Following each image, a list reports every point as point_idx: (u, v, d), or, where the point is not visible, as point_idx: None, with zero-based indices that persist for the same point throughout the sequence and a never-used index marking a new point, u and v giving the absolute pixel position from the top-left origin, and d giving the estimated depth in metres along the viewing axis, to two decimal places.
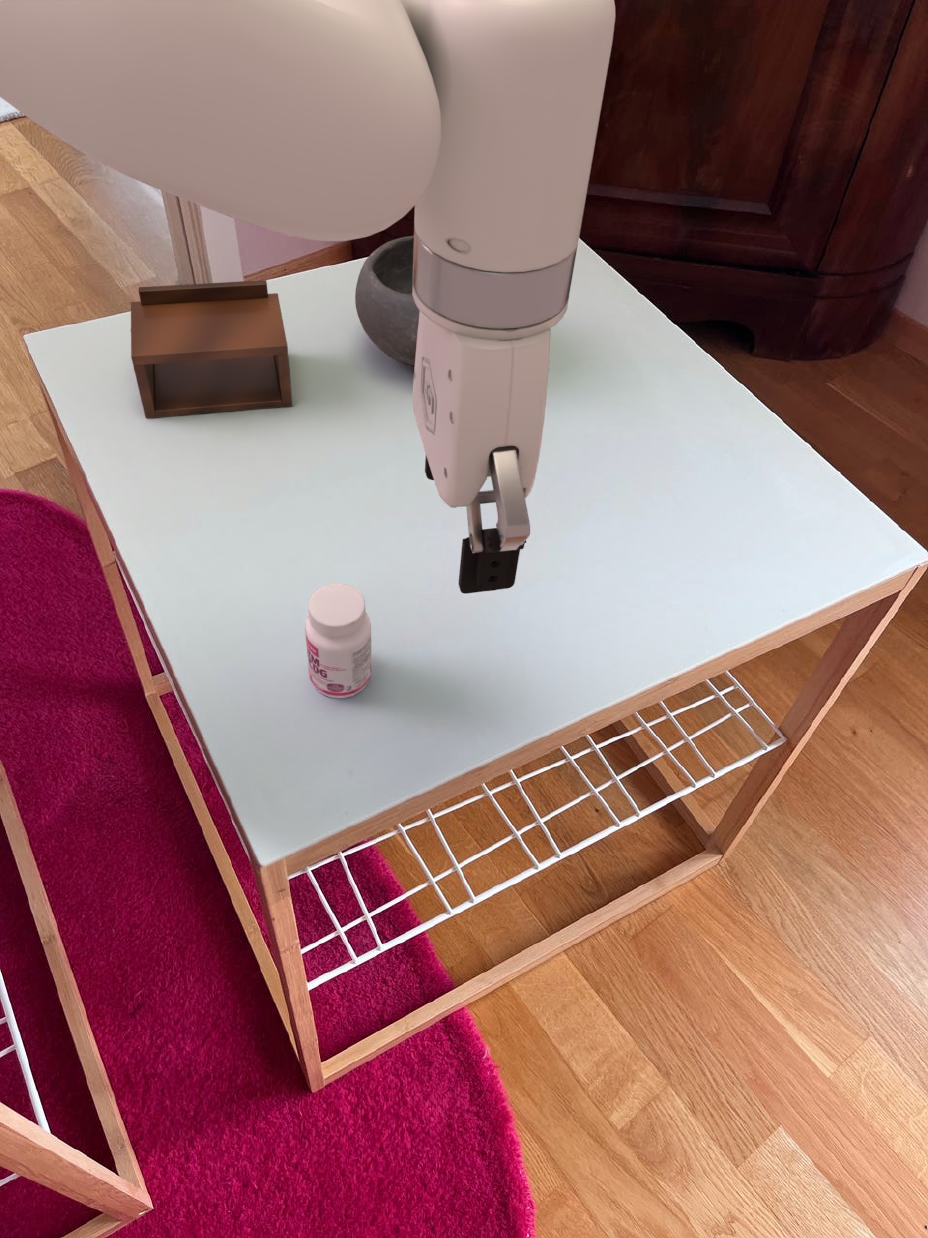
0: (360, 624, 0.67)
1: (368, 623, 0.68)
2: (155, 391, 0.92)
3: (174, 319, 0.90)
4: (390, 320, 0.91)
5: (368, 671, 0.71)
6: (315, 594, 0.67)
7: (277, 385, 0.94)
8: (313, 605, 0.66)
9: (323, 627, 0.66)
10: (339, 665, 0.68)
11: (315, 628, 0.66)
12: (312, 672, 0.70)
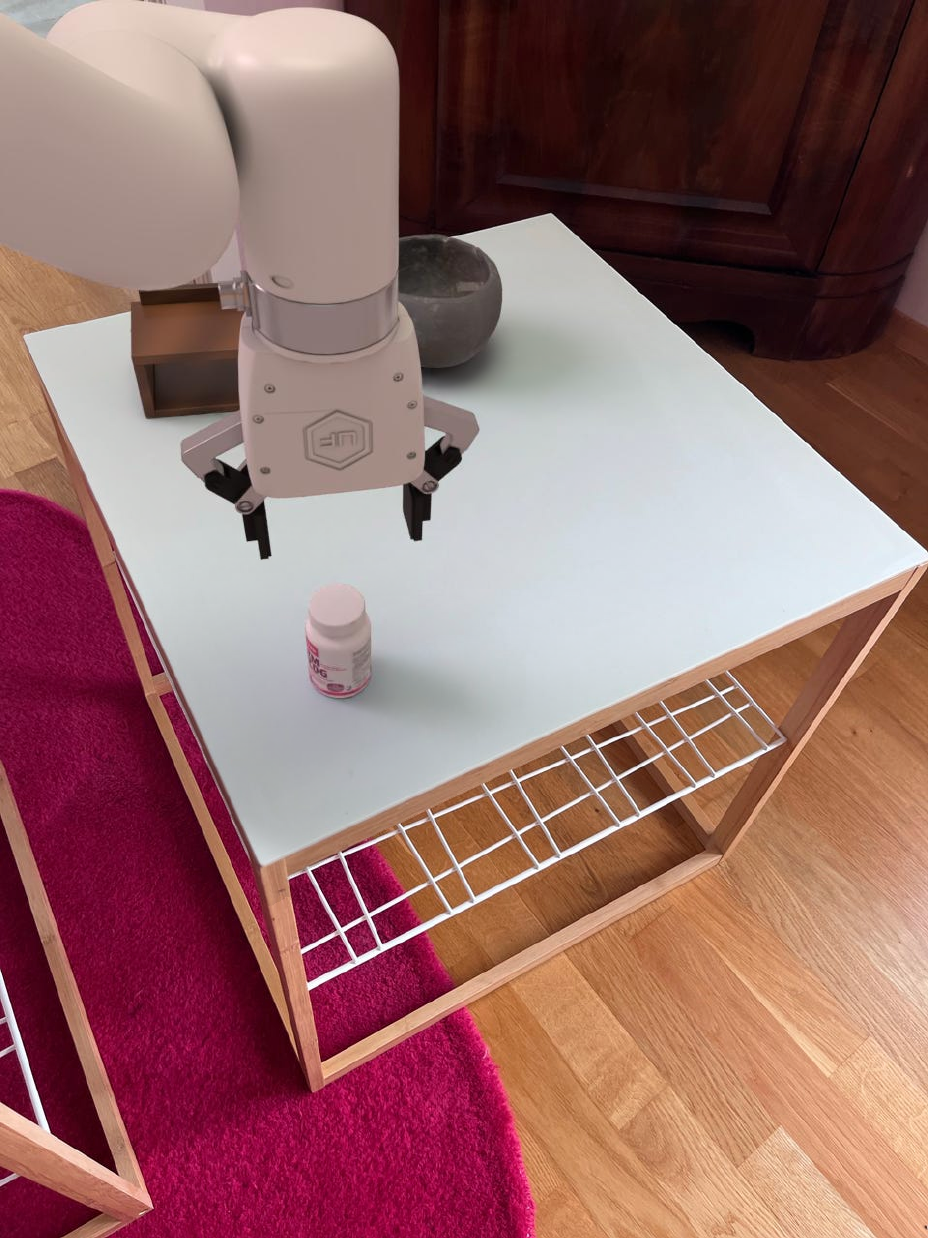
0: (360, 624, 0.67)
1: (368, 623, 0.68)
2: (155, 391, 0.92)
3: (174, 319, 0.90)
4: None
5: (368, 671, 0.71)
6: (315, 594, 0.67)
7: None
8: (313, 605, 0.66)
9: (323, 627, 0.66)
10: (339, 665, 0.68)
11: (315, 628, 0.66)
12: (312, 672, 0.70)
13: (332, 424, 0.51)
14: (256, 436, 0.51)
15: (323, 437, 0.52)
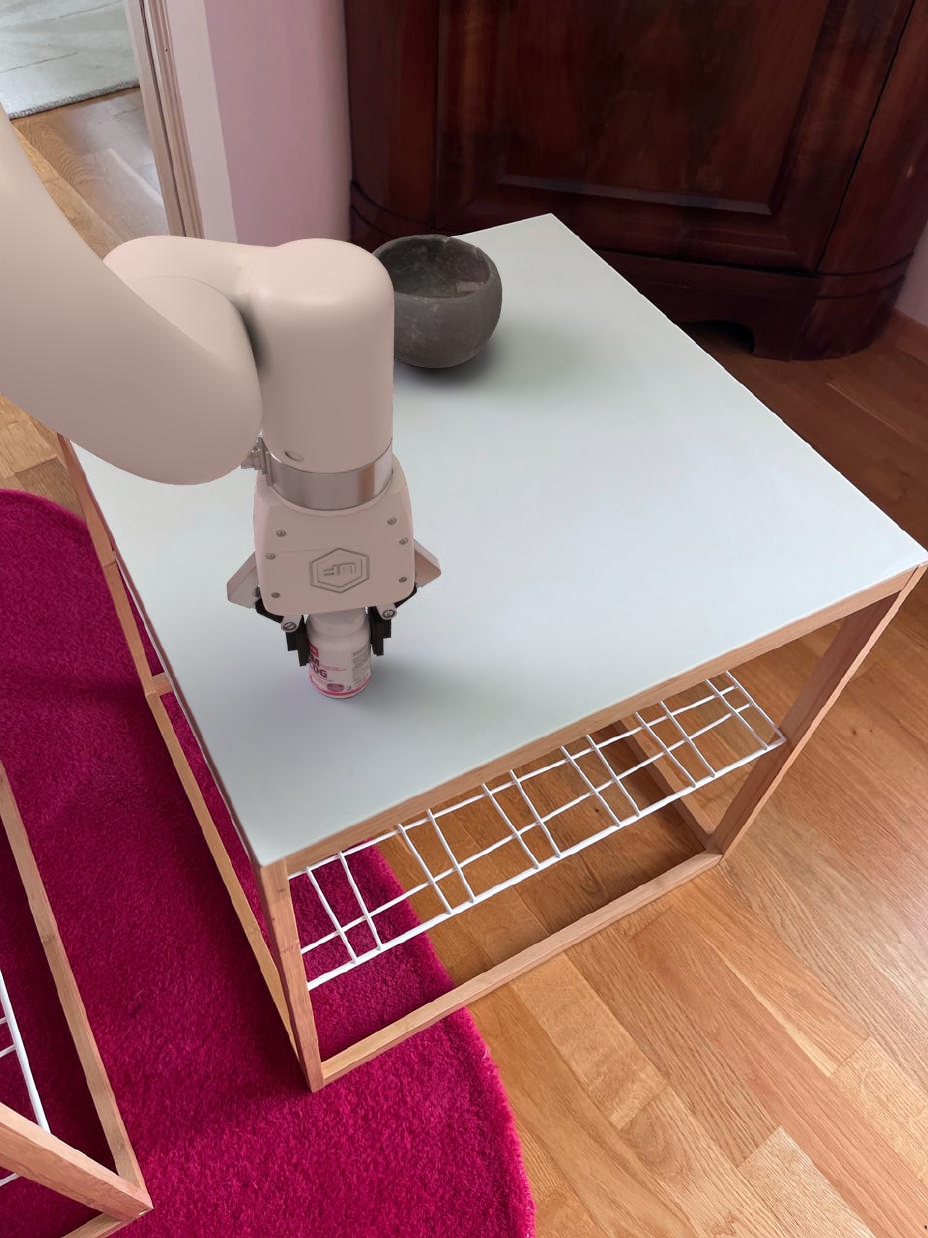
0: (360, 624, 0.67)
1: (368, 623, 0.68)
2: None
3: None
4: None
5: (368, 671, 0.71)
6: None
7: None
8: None
9: (323, 627, 0.66)
10: (339, 665, 0.68)
11: (315, 628, 0.66)
12: (312, 672, 0.70)
13: (334, 558, 0.59)
14: (268, 569, 0.59)
15: (326, 568, 0.60)
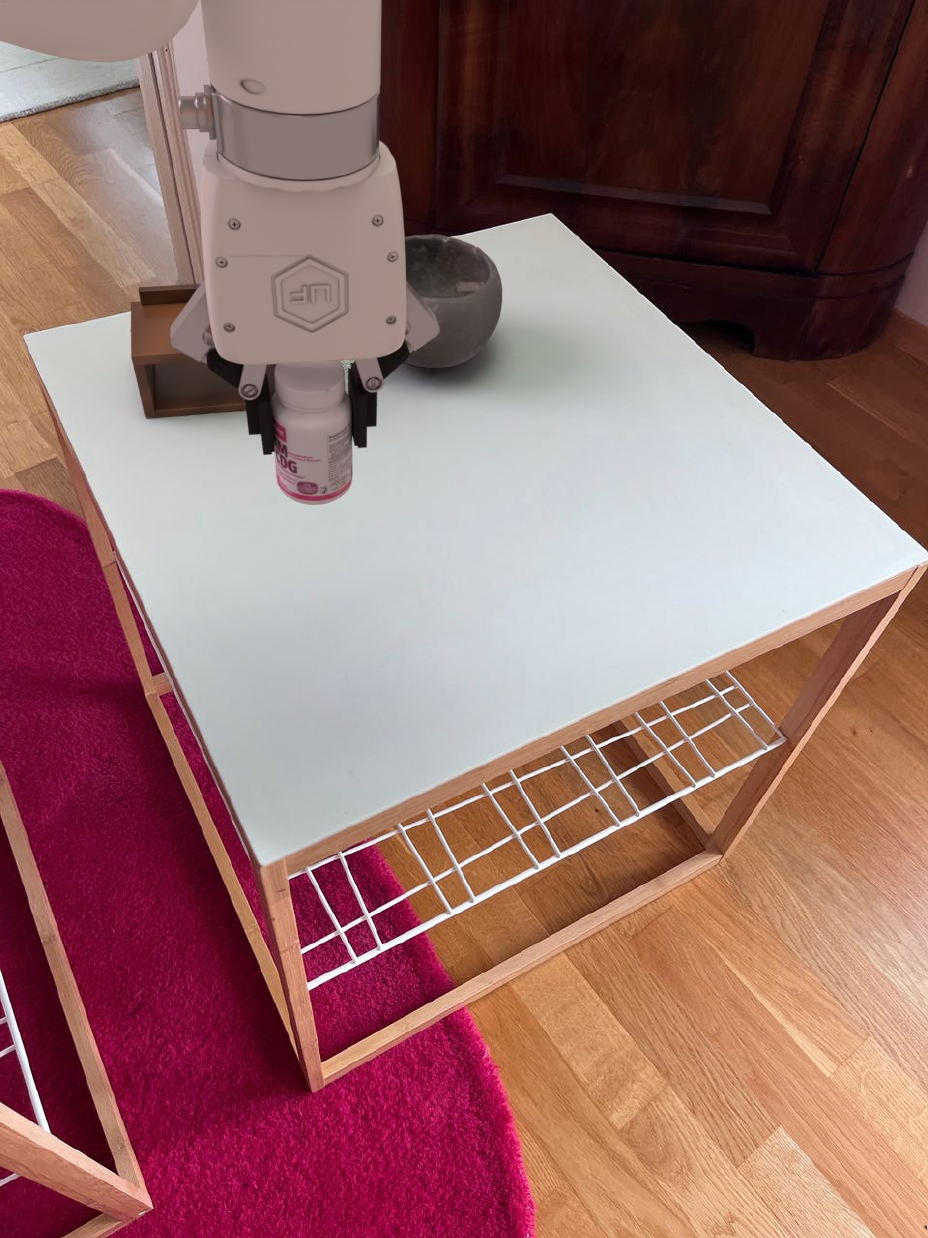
0: (338, 396, 0.54)
1: (348, 402, 0.55)
2: (155, 391, 0.92)
3: (174, 319, 0.90)
4: None
5: (348, 472, 0.58)
6: None
7: None
8: (280, 370, 0.53)
9: (291, 395, 0.53)
10: (312, 452, 0.55)
11: (282, 399, 0.54)
12: (279, 469, 0.58)
13: (304, 274, 0.46)
14: (219, 284, 0.46)
15: (294, 290, 0.47)
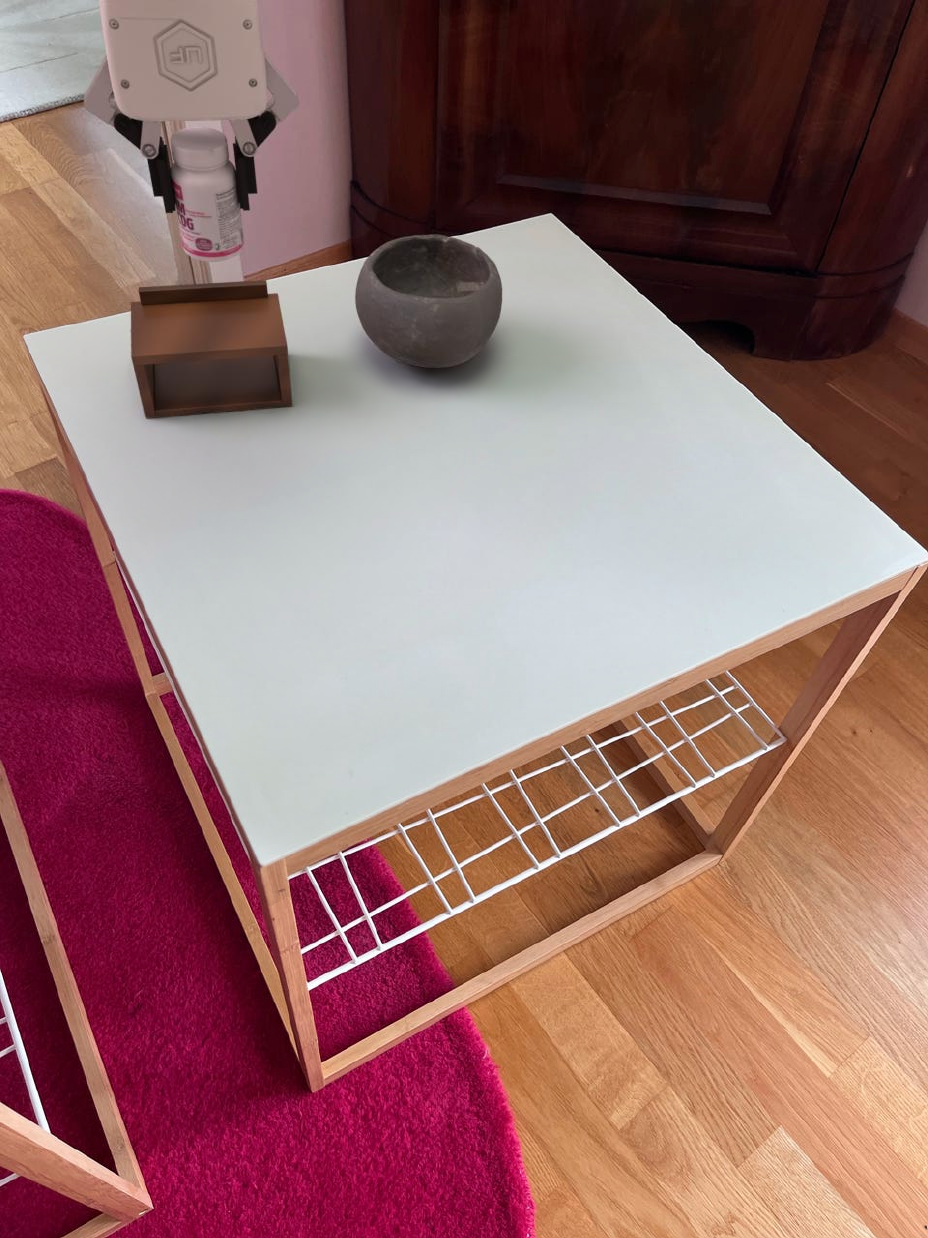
0: (221, 158, 0.68)
1: (232, 168, 0.70)
2: (155, 391, 0.92)
3: (174, 319, 0.90)
4: (390, 320, 0.91)
5: (238, 234, 0.73)
6: (178, 131, 0.69)
7: (277, 385, 0.94)
8: (175, 137, 0.68)
9: (183, 155, 0.67)
10: (204, 208, 0.70)
11: (177, 160, 0.68)
12: (181, 229, 0.72)
13: (179, 36, 0.61)
14: (114, 43, 0.60)
15: (172, 50, 0.61)
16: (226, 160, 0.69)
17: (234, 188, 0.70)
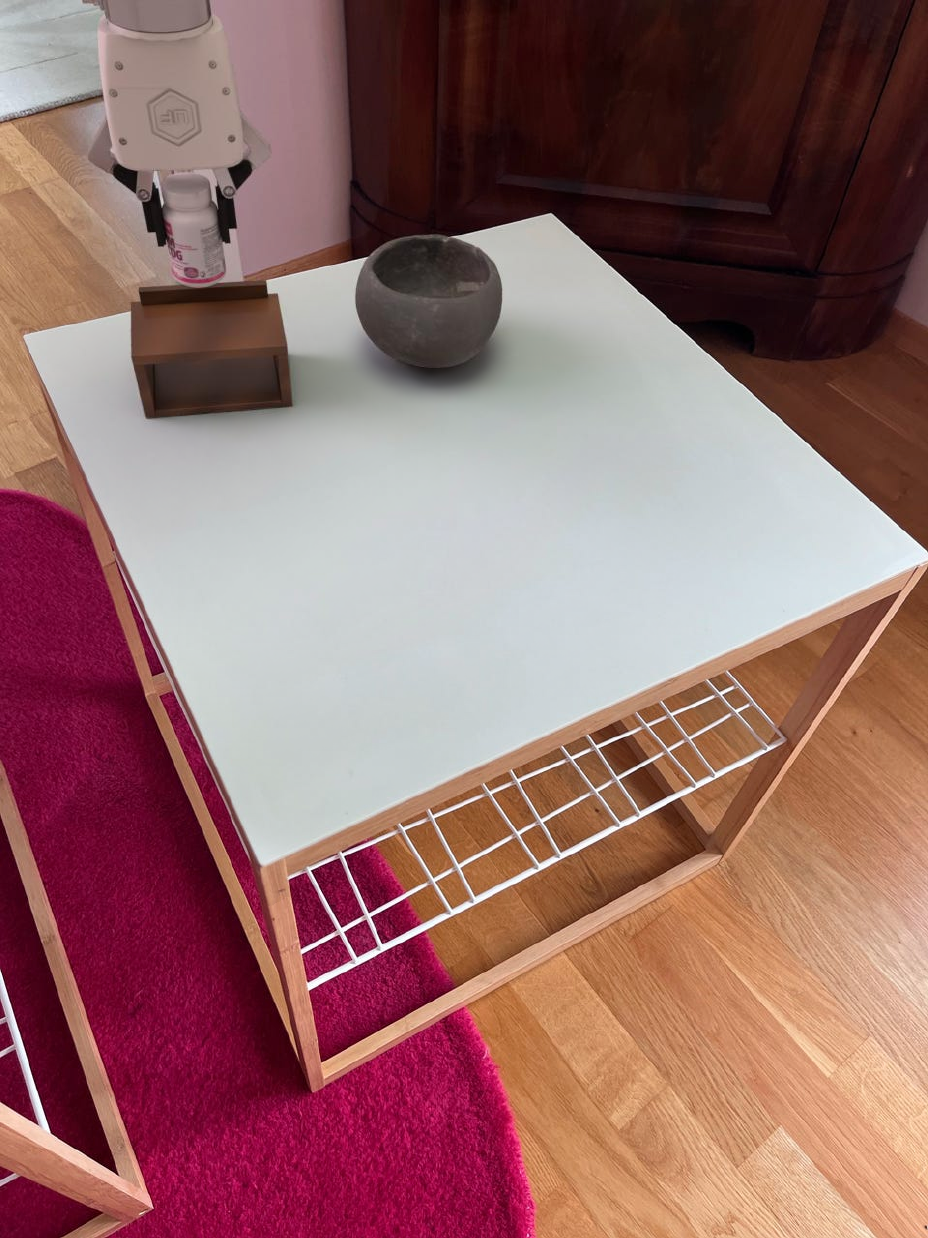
0: (205, 200, 0.79)
1: (215, 208, 0.81)
2: (155, 391, 0.92)
3: (174, 319, 0.90)
4: (390, 320, 0.91)
5: (220, 263, 0.84)
6: (168, 176, 0.80)
7: (277, 385, 0.94)
8: (165, 182, 0.79)
9: (172, 198, 0.79)
10: (191, 242, 0.81)
11: (167, 202, 0.79)
12: (171, 260, 0.83)
13: (168, 102, 0.72)
14: (113, 108, 0.72)
15: (162, 113, 0.73)
16: (209, 201, 0.80)
17: (217, 224, 0.82)
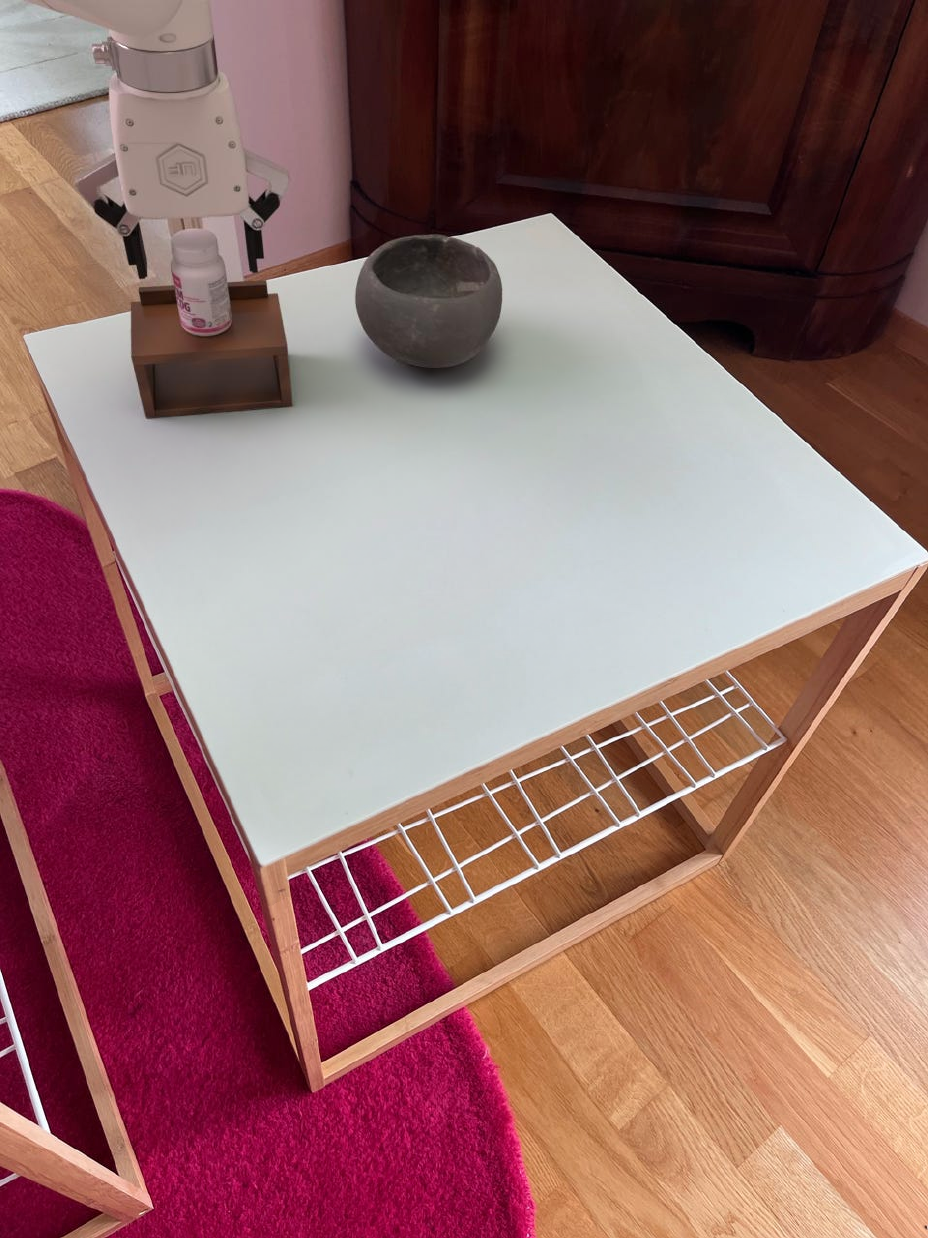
0: (212, 256, 0.83)
1: (222, 262, 0.85)
2: (155, 391, 0.92)
3: (174, 319, 0.90)
4: (390, 320, 0.91)
5: (227, 313, 0.88)
6: (177, 233, 0.84)
7: (277, 385, 0.94)
8: (174, 239, 0.83)
9: (181, 254, 0.82)
10: (198, 295, 0.85)
11: (176, 258, 0.83)
12: (180, 310, 0.87)
13: (176, 155, 0.75)
14: (124, 162, 0.75)
15: (171, 166, 0.76)
16: (216, 256, 0.84)
17: (223, 278, 0.85)
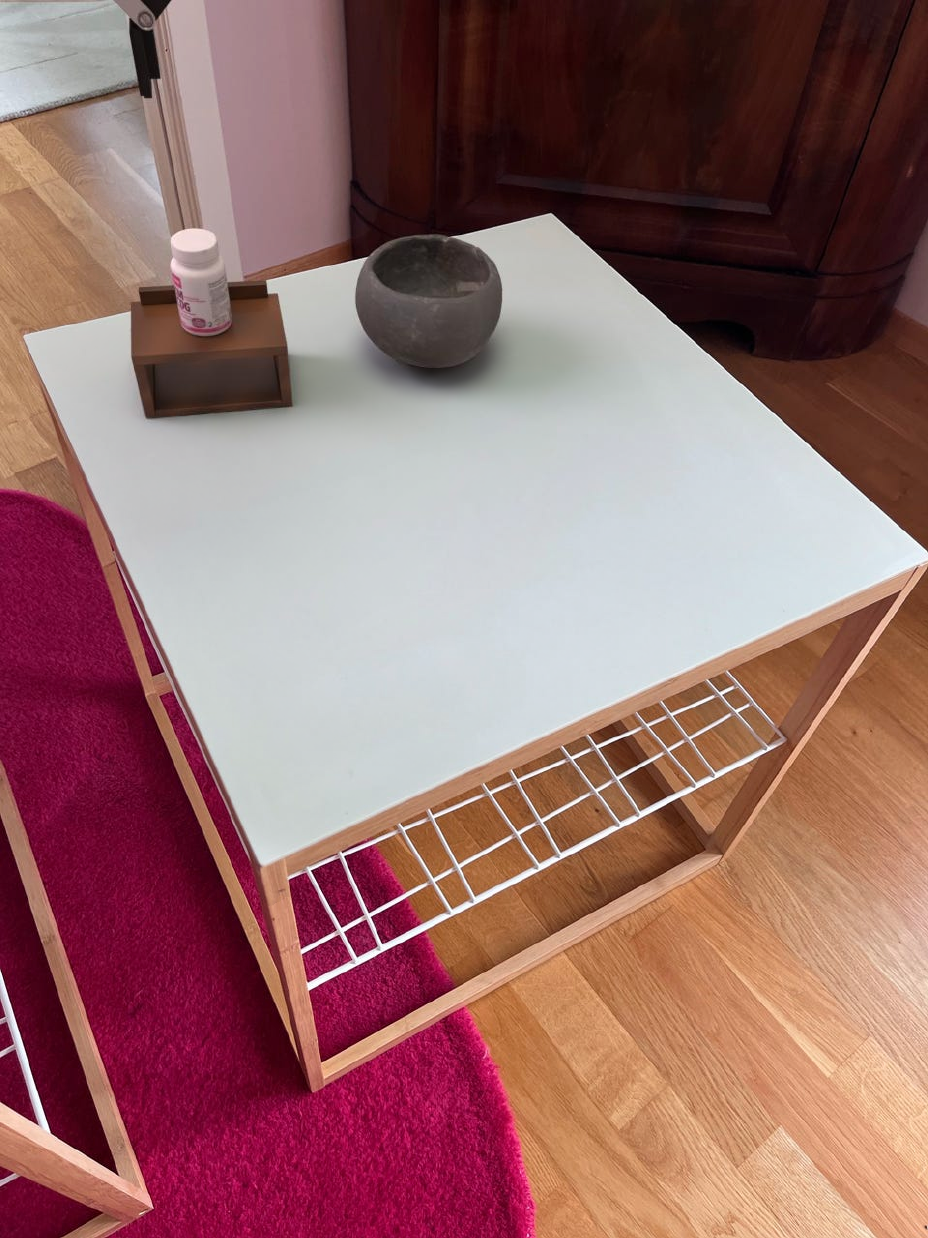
0: (212, 256, 0.83)
1: (222, 262, 0.85)
2: (155, 391, 0.92)
3: (174, 319, 0.90)
4: (390, 320, 0.91)
5: (227, 313, 0.88)
6: (177, 233, 0.84)
7: (277, 385, 0.94)
8: (174, 239, 0.83)
9: (181, 254, 0.82)
10: (198, 295, 0.85)
11: (176, 258, 0.83)
12: (180, 310, 0.87)
13: None
14: None
15: None
16: (216, 256, 0.84)
17: (223, 278, 0.85)
